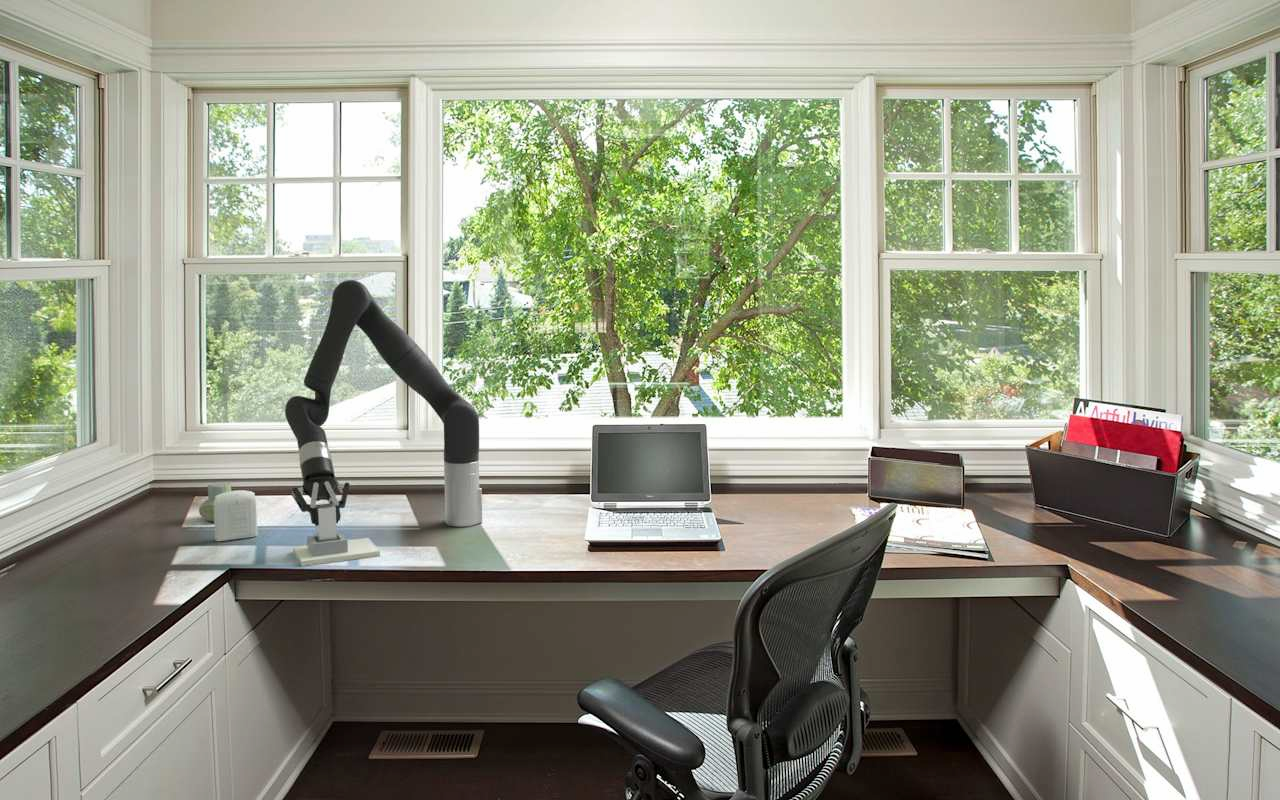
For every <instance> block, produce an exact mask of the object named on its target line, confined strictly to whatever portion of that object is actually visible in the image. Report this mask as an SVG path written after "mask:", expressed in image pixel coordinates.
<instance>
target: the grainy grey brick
mask: <svg viewBox="0 0 1280 800" xmlns="http://www.w3.org/2000/svg"><path fill="white" fill-rule="evenodd" d="M315 508H316V509H317V515H318V526H315V527H316V535H317V542H325V541H333V540H337V524H336V507H335V505H334V504H333V503H321V504H320V503H319V504H316V506H315Z"/></svg>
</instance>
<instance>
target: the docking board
mask: <svg viewBox="0 0 1280 800" xmlns="http://www.w3.org/2000/svg"><path fill="white" fill-rule="evenodd" d="M306 541H307V542H306V543H307V545H300V546H293V547H292V551H293V554H294V553H295V554H294V556H295V555H296V556H295V557H296V558H297V560H298V563H299V564H300V566H301V567H307V565H308V566H314V565H315V566H316V565H320V564H321V565H323V564H328V563H329V564H330V563H336V562H345V561H351V560H359V559H365V558H367V557H368V558H373V557H374V556H375V557H380V556H381V552H380V549H378V547H377V546H376V545H375V543H373V542H372V540H371V539H370V538H369V537H364V538H355V539H347V538H346V537H345V535H344V534H343V532H342V531H339V532H337V540H333V541H325V542H317V534H315V535H314V534H313V535H312V534H311V535H307V536H306Z"/></svg>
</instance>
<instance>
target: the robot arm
mask: <svg viewBox="0 0 1280 800" xmlns="http://www.w3.org/2000/svg"><path fill="white" fill-rule="evenodd" d="M330 305H331V306H330V311H329V316H328V319H327V323H326V326H325V329H324V332H323V334H322V337H321V339H320V341H319V343H318V344H317V348H316V350H315V351H314V354H313V356H312V358H311V361H310V364H309V366H308V368H307V371H306V374H305V376H304V380H303V385H304V386H305V387H306V388H307V389H309V390H311V391H313V392H314V399H313V398H309V397H306V396H302V395H294V396H291V397H290V398H289V399H288V400H287V402H286V404H285V409H284V414H285V418H286V422H287V423H288V425H289V427H290V429H291V431H292V434H294V437H295V438H296V441H297V448H298V452H299V453H298V460H299V468H300V471H301V476H302V486H301V487H293V488H292V491H291V493H292V494H291V497H292V498H293V500H294V501H295V503H296V504H297V507H298V508H299V509H300V511H301V512H302V513H305V512H308V513H309V515H310V522H311V523H312V524H314V526H315V527H316V526H318V515H317V509H316V508H315V506H316V505H317V502H319V501H322V500H323V501H327V504H329V503H333V504H334V505H335V507H336V525H337V524H339V522H341V521H340V520H341V517H342V516H341V511H340V509H344V508H345V507H346V502H347V499H348V493H349V488H350V483H349V482H345V483H339V481H338V480H337V479H336V476H335V469H334V465H333V460H332V454H331V452H330V449H329V443H328V440H327V435H326V431H325V430H324V429H323V427H322V426H323V425H324V424H325V422H327V420H328V417H329V412H330V402H331V401H330V400H331V393H332V388H333V385H334V382H335V380H336V377H337V375H338V372H339V369H340V367H341V364H342V361H343V357H344V355H345V351H346V347H347V344H348V342H349V339H350V338H351V335H352V332H353V330H354V328H355V326H357V327H358V328H359V329H360V330H361V331H362V332H363V333H364V334H365V335H366V337H367V338H368V339H369V340H370V342H371V343H372V345H373V347H374V348H375V349H376V351H377V353H378V354H379V355H380V357H381V358H382V359H383V361H384V362H385V363H386V365H388V367H389V368H390V369H391V371H393V372H394V373H395V374H396V376H397V377H399V379H401V380H402V382H404V383H405V384H406V385H407V386H408V387H409V388H411V390H413V391H414V392H416V394H418V395H420V396H421V397H422V398H423V399H424V400H425V401H426V402H427V403H428V404H429V405H430V407H431V409H433V410H434V412H435V414H436V415H437V416H438V417H439V419H440V420H441V422H442V423H443V468H444V469H443V470H444V471H443V472H444V473H443V474H444V478H443V479H444V507H445V511H444V512H445V514H444V515H445V516H444V517H445V518H444V519H445V525H447V526H451V527H472V526H474V525H478V524H482V523H483V493H482V492H483V491H482V488H481V487H480V465H479V464H480V462H479V461H480V459H479V454H480V421H479V414H478V412H477V410H476V408H475V407H474V405H472V404H471V403H470V402H468V401H467V400H466V399H465V398H463V397H462V396H461V395H460V394H459V393H458V392H457V391H456V390H454V388H453V387H452V386H451V385H450V384H449V383H448V382H447V381H446V380H445V379H444V377H443V375H442V374H441V373H440V372H439V369H438V368H437V367H436V366H435V364H434V363H433V362H432V360H431V359H430V358H429V356H428V355H427V354H426V352H424V350H423V349H422V348H421V347H420V346H419V345H418V344H417V343H416V341H414V340H413V339H412V337H411V336H410V335H409V334H408V333H406V332H405V331H404V330H403V329H402V328H401V327H400V326H398V325H397V324H396V323H395V322H394V321H393V320H392V319H391V318H390V317H389V316H388V315H387V314H386V313H385V312H384V311H383V309H382V308H381V307H380V306H379V305H378V303H377V301H376V300H375V299H374V296H372V294H371V293H370V291H369V289H368V288H367V287H366V285H364V283H361V282H360V281H358V280H353V279H349V280H344V281H342V282H340V283H339V284H338V285H336V287H335V288H334V290H333V292H332V297H331V304H330ZM337 490H339V493H340V494H341V498H340V500H338V499H337V495H336V491H337ZM303 493H304V494H306V495H307V497H309V498H310V503H307V501H306V500H305V498H304V496H303V495H304V494H303Z"/></svg>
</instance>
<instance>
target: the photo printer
mask: <svg viewBox="0 0 1280 800" xmlns="http://www.w3.org/2000/svg"><path fill="white" fill-rule="evenodd" d="M257 507H258V506H257V497H256V495H255V492H253V491H250V490H244V489H243V490H240V489H239V490H238V489H237V490H231V491H229V492H225V493H222V494H219V495H217V496H215V500H214V522H213V523H214V539H215V541H216V542H225V541H226V542H227V541H231V540H232V541H233V540H241V539H248V538H255V536H256V537H258V534H259V533H258V511H257Z"/></svg>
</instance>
